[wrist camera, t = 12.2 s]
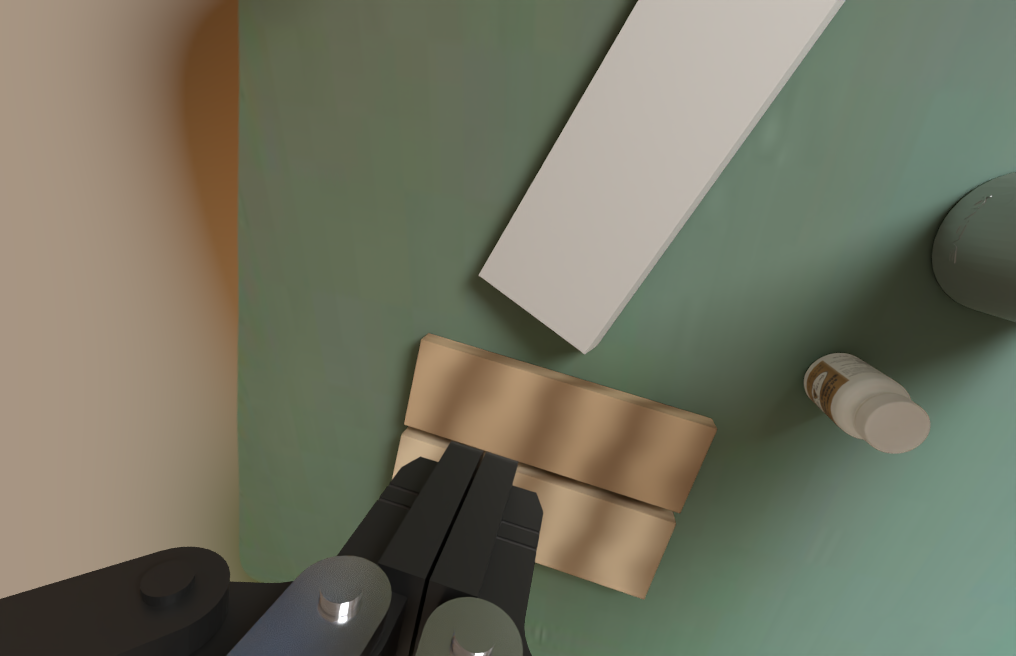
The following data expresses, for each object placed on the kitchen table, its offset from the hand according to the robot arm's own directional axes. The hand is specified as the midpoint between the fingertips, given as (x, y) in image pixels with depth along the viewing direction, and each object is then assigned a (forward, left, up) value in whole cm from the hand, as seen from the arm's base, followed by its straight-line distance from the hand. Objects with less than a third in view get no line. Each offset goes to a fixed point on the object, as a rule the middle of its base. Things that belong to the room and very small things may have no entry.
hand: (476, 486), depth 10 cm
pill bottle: (-22, +2, -28) cm, 36 cm away
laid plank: (-3, +12, -28) cm, 30 cm away
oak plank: (-3, +21, -28) cm, 35 cm away
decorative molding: (-4, -13, -29) cm, 32 cm away
